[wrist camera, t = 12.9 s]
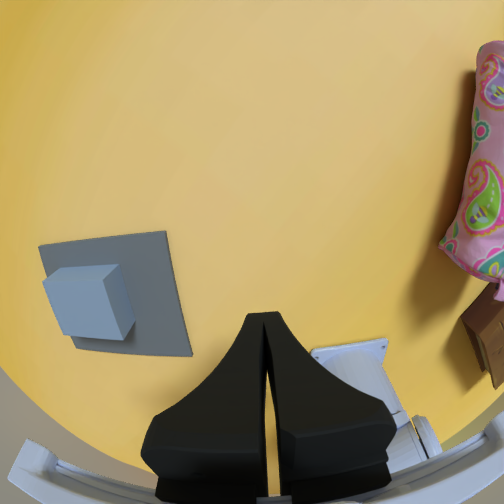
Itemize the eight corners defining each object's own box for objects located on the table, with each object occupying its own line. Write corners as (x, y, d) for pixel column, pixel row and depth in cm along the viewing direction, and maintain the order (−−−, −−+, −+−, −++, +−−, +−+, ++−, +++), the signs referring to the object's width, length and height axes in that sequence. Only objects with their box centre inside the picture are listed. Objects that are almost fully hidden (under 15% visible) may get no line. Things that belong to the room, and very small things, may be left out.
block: (123, 340, 19) (62, 334, 20) (135, 320, 22) (76, 317, 22) (102, 280, 17) (40, 281, 18) (119, 263, 20) (58, 267, 20)
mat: (192, 353, 24) (192, 356, 24) (77, 346, 24) (76, 348, 24) (165, 230, 20) (164, 232, 19) (40, 245, 20) (38, 246, 20)
